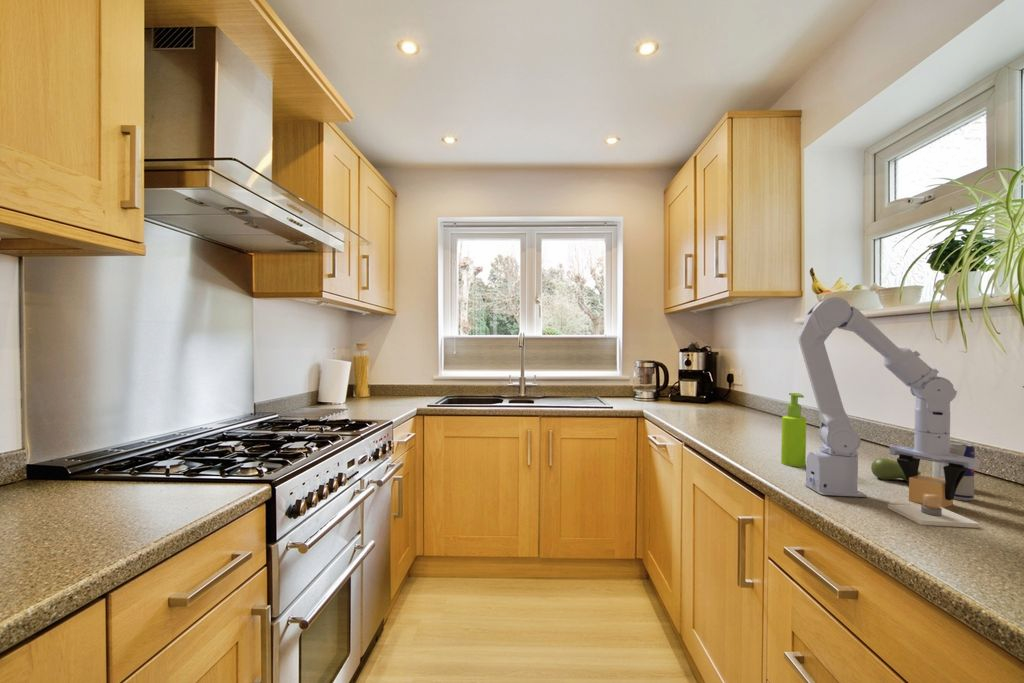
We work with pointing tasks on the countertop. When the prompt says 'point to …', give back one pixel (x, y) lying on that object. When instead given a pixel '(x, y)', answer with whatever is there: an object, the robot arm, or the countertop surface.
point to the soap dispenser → (794, 434)
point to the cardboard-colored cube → (927, 489)
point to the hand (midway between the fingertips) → (930, 495)
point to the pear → (887, 469)
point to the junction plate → (933, 513)
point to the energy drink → (967, 482)
